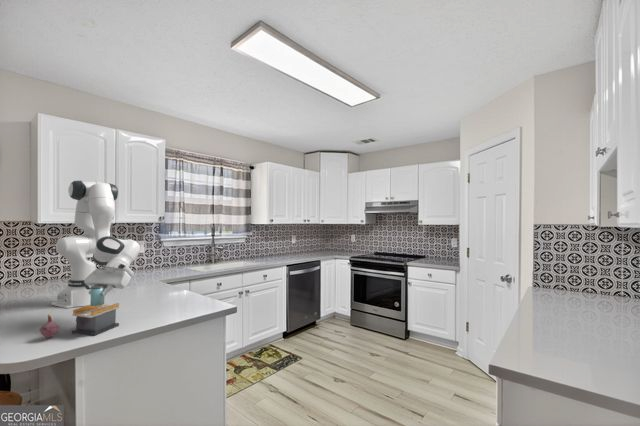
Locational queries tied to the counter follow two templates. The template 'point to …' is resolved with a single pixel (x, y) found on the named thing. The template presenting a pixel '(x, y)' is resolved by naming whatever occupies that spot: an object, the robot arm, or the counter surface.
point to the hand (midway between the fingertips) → (96, 294)
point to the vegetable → (49, 328)
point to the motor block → (95, 319)
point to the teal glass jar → (97, 295)
